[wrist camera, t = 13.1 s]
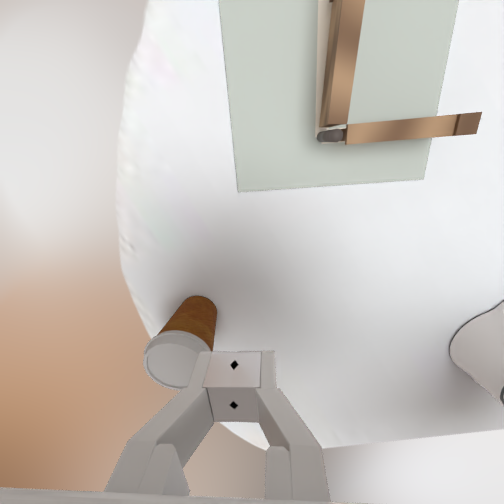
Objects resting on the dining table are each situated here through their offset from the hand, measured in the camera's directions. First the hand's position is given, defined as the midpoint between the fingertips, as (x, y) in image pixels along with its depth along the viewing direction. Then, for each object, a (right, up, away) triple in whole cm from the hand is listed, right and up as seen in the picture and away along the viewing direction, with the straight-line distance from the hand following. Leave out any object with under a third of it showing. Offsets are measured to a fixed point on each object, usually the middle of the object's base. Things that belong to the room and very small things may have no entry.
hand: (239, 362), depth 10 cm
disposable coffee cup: (-9, -6, +33) cm, 35 cm away
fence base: (+15, +19, +20) cm, 31 cm away
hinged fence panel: (+9, +25, +16) cm, 31 cm away
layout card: (+10, +22, +19) cm, 31 cm away
